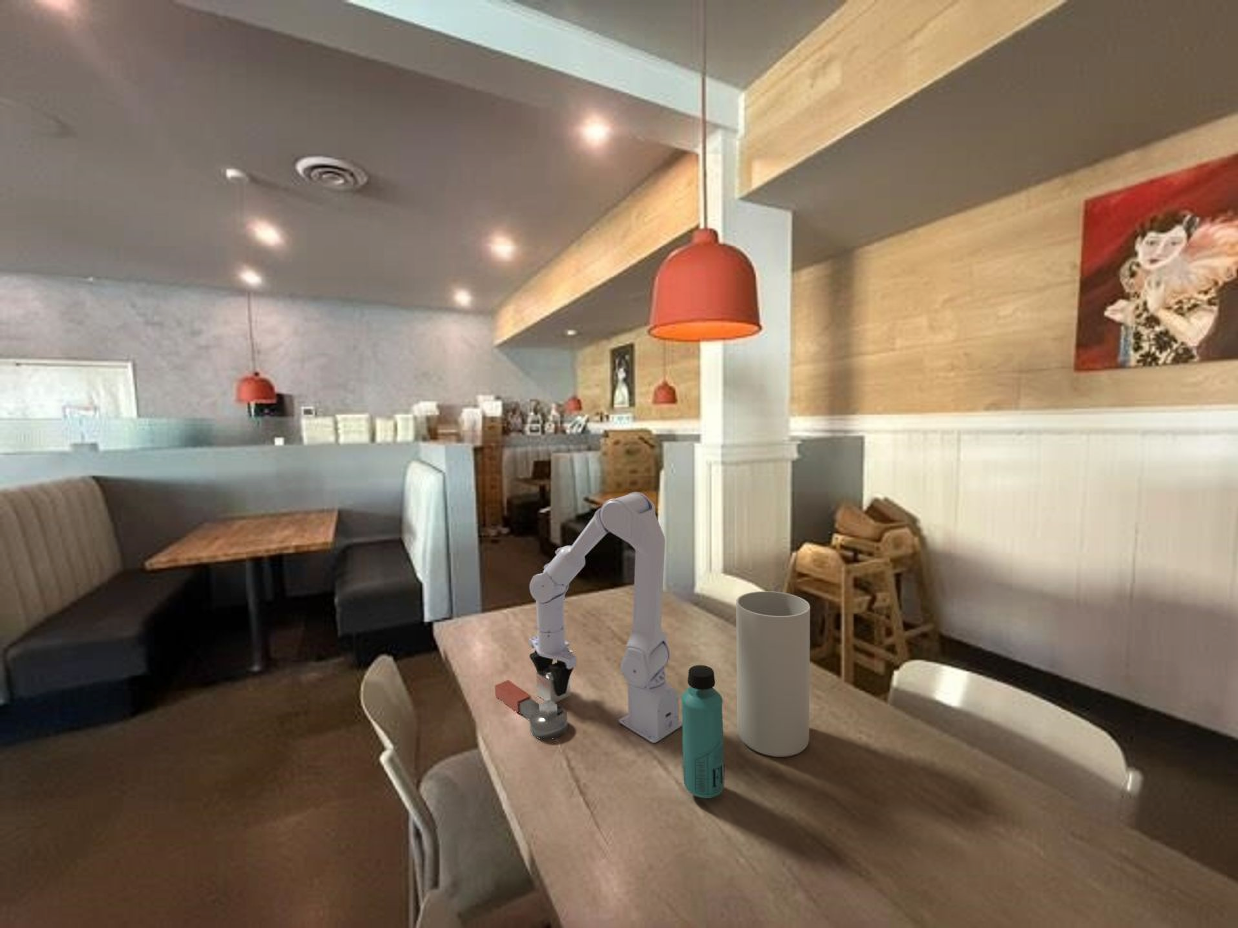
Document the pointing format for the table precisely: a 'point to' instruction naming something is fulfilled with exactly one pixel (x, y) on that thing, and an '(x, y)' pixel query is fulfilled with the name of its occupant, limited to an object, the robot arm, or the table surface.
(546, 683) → the cube block
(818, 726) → the table surface
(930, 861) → the table surface
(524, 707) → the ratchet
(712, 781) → the beverage bottle
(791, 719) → the cylinder vase
